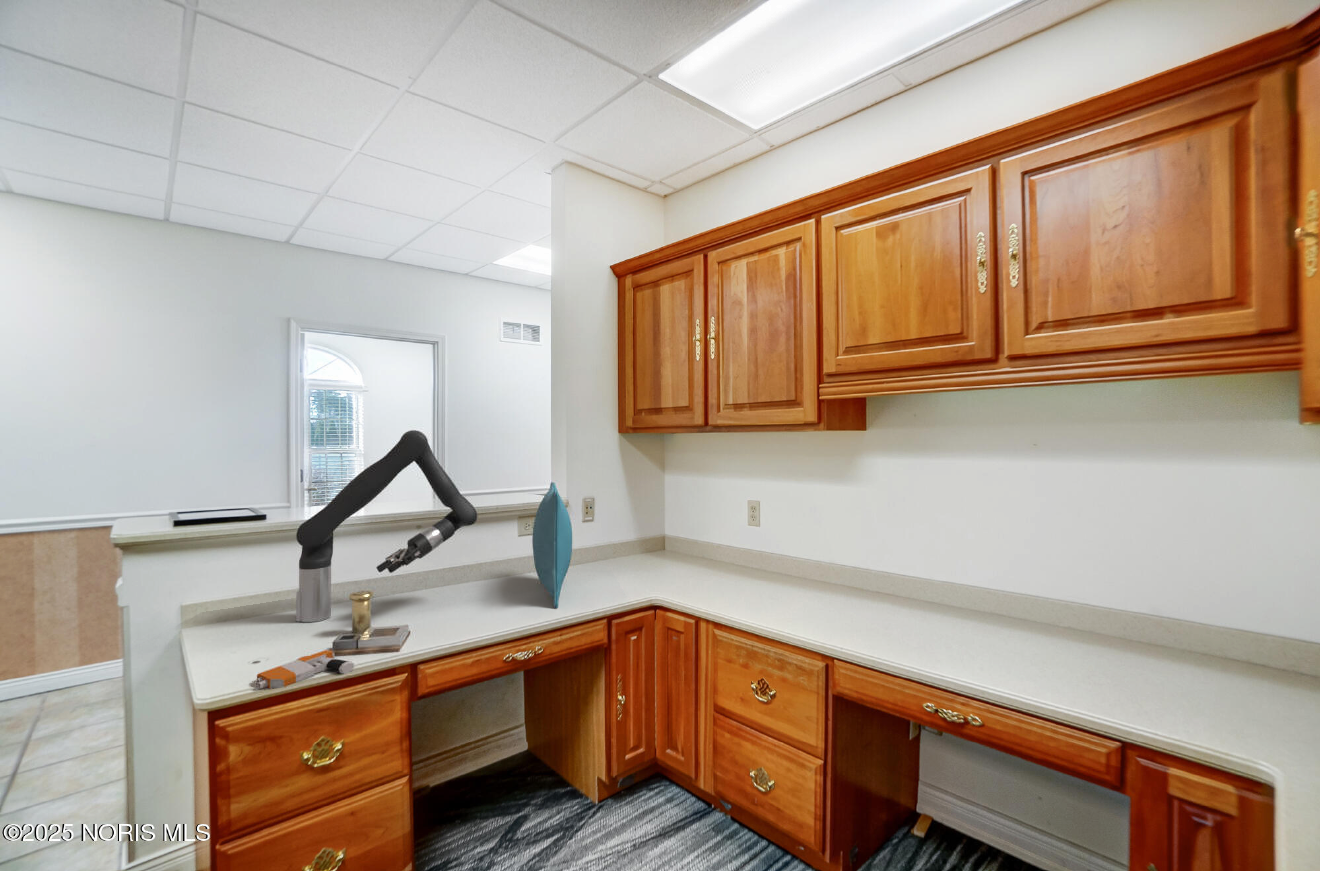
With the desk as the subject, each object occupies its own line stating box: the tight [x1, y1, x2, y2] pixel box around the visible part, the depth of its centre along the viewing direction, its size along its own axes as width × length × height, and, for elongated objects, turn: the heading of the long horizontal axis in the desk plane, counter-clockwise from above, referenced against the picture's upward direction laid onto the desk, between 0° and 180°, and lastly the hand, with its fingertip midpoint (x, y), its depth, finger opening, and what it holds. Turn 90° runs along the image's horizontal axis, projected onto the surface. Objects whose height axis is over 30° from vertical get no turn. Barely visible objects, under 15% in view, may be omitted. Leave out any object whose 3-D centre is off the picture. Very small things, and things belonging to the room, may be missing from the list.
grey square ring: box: [331, 633, 363, 651], centre depth 164 cm, size 6×6×2 cm
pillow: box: [531, 481, 573, 609], centre depth 224 cm, size 43×15×42 cm, turn 12°
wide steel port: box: [358, 624, 410, 649], centre depth 168 cm, size 11×11×2 cm
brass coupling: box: [349, 590, 374, 634], centre depth 179 cm, size 6×6×12 cm
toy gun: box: [255, 649, 355, 690], centre depth 146 cm, size 3×19×15 cm
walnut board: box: [330, 630, 411, 657], centre depth 168 cm, size 18×15×1 cm
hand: (383, 570), depth 187 cm, fingers open, 8 cm apart
